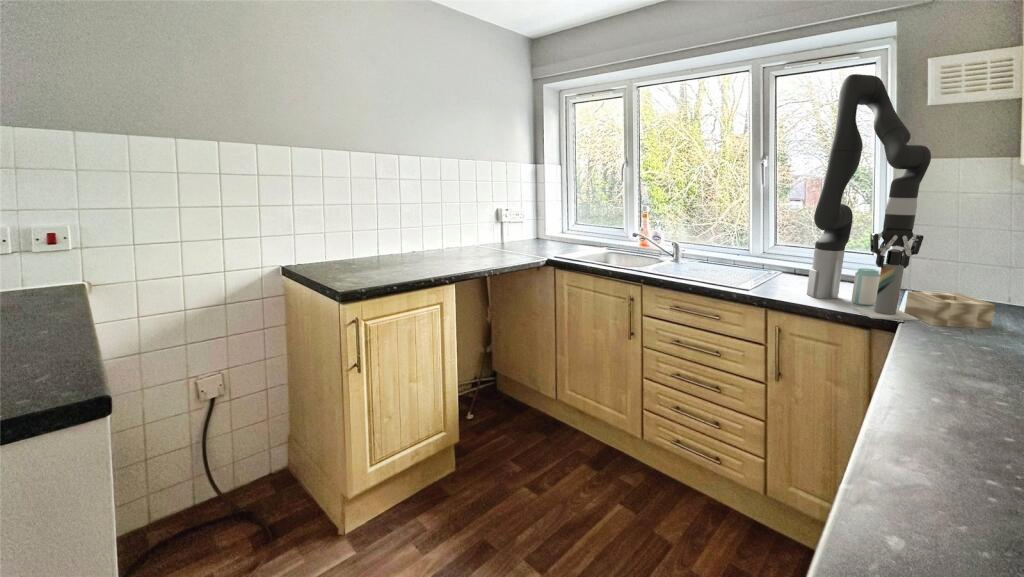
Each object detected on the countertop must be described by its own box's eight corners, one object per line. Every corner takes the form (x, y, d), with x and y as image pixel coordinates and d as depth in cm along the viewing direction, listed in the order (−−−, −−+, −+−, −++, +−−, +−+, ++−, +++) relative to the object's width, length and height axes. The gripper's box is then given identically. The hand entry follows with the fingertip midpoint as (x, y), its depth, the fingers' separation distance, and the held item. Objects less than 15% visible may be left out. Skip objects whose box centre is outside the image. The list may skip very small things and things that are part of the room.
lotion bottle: (892, 311, 168) (903, 249, 164) (898, 315, 163) (909, 251, 159) (871, 309, 170) (881, 248, 166) (877, 313, 165) (887, 250, 161)
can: (861, 301, 184) (866, 267, 182) (880, 305, 178) (886, 270, 175) (846, 302, 182) (851, 268, 180) (865, 307, 175) (870, 271, 173)
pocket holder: (932, 325, 154) (936, 302, 153) (904, 312, 168) (907, 291, 167) (990, 328, 151) (995, 304, 150) (956, 315, 166) (961, 293, 164)
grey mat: (871, 318, 161) (871, 316, 161) (852, 308, 174) (852, 306, 174) (918, 320, 159) (919, 319, 159) (895, 310, 172) (896, 308, 171)
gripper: (880, 213, 157) (871, 268, 161) (934, 214, 155) (924, 270, 158) (868, 211, 165) (860, 264, 168) (919, 212, 162) (910, 266, 166)
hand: (891, 267), depth 163 cm, fingers open, 6 cm apart
